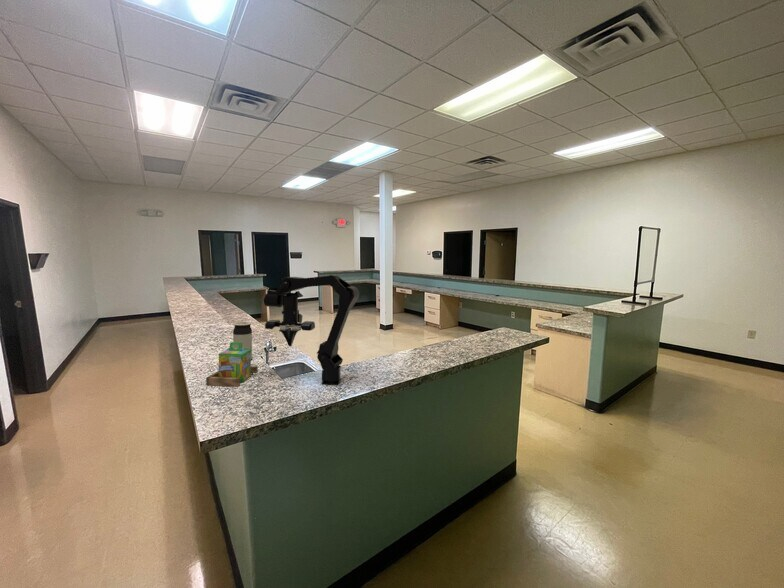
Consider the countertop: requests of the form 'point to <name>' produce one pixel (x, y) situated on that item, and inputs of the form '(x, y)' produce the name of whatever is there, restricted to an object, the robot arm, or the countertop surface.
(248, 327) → the travel mug
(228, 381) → the block
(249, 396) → the countertop surface
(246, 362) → the chalk box
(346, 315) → the robot arm
